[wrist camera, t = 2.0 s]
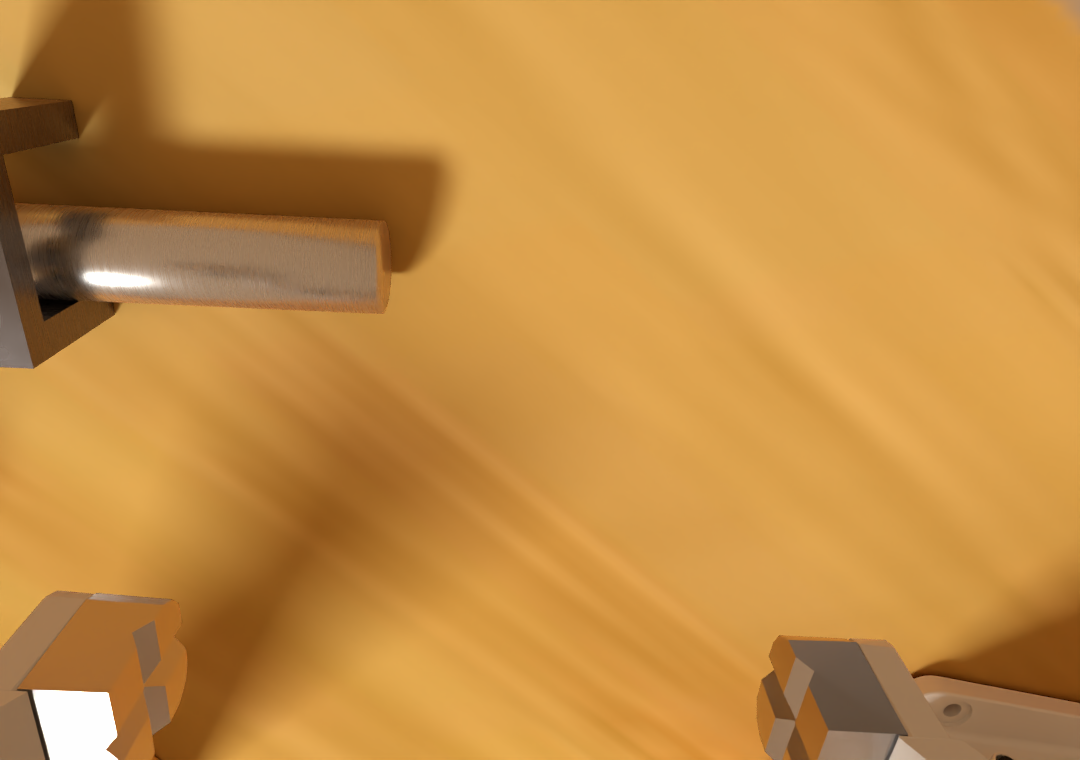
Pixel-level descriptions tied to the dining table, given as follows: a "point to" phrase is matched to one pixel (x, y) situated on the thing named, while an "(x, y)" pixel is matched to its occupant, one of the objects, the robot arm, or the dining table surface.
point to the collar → (3, 267)
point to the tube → (207, 258)
